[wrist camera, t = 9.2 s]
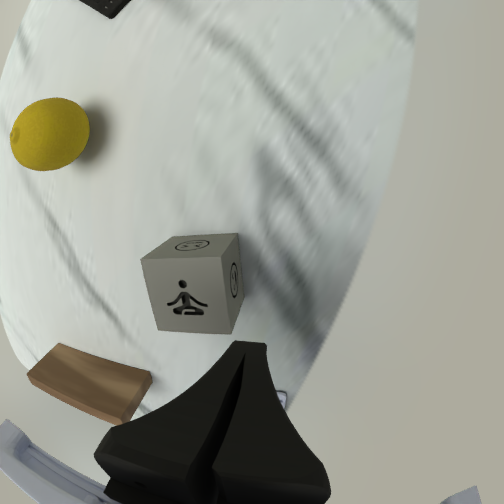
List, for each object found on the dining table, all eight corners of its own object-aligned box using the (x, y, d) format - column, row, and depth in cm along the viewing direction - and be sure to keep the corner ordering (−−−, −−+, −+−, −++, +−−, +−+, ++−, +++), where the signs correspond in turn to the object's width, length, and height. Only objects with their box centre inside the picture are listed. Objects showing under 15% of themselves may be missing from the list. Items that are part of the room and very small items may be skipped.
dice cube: (183, 296, 22) (158, 330, 17) (172, 236, 20) (140, 259, 15) (244, 296, 21) (231, 334, 16) (237, 232, 19) (220, 256, 15)
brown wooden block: (152, 381, 26) (125, 428, 19) (62, 352, 27) (31, 383, 21) (149, 371, 25) (120, 418, 19) (58, 342, 27) (26, 373, 20)
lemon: (116, 143, 18) (41, 145, 11) (73, 177, 20) (3, 193, 12) (97, 90, 17) (27, 76, 9) (57, 127, 18) (-10, 128, 11)
